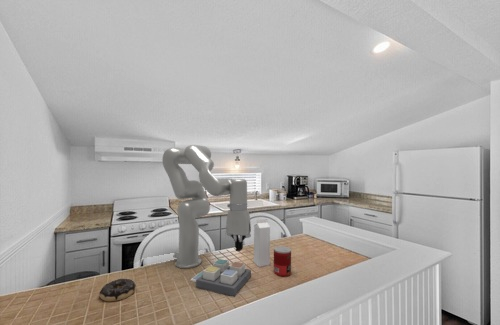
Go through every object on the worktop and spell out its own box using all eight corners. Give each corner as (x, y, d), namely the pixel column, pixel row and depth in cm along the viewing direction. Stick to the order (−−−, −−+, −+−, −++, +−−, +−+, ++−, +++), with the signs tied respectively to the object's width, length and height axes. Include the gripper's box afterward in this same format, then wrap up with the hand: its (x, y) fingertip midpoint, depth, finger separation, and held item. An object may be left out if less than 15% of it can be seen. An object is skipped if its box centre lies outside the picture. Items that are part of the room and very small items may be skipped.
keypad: (195, 287, 90) (196, 279, 91) (217, 270, 106) (217, 263, 106) (234, 296, 84) (234, 288, 84) (250, 276, 100) (250, 269, 100)
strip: (190, 281, 96) (190, 279, 96) (204, 270, 106) (204, 268, 106) (197, 282, 94) (197, 280, 94) (211, 271, 105) (211, 269, 105)
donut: (112, 286, 91) (112, 276, 91) (141, 287, 91) (141, 277, 91) (92, 302, 80) (93, 291, 80) (125, 303, 80) (125, 292, 80)
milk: (253, 262, 115) (253, 219, 116) (264, 260, 118) (264, 218, 119) (259, 267, 110) (259, 221, 111) (270, 265, 113) (270, 220, 113)
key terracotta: (229, 274, 96) (229, 265, 96) (234, 269, 101) (234, 261, 101) (240, 276, 94) (240, 267, 94) (245, 271, 99) (245, 263, 99)
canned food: (290, 277, 99) (291, 252, 100) (272, 276, 101) (272, 251, 101) (291, 270, 107) (291, 246, 107) (274, 268, 109) (274, 245, 109)
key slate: (220, 282, 89) (220, 273, 89) (226, 277, 93) (226, 268, 93) (232, 285, 87) (232, 276, 87) (237, 279, 92) (237, 270, 92)
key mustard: (203, 278, 92) (203, 270, 92) (209, 273, 96) (209, 265, 96) (213, 281, 90) (214, 272, 90) (220, 275, 94) (220, 267, 95)
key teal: (213, 270, 99) (213, 262, 99) (218, 266, 104) (219, 258, 104) (223, 272, 97) (223, 264, 97) (228, 268, 102) (228, 260, 102)
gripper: (219, 208, 98) (219, 251, 97) (251, 209, 92) (252, 255, 91) (227, 205, 105) (227, 245, 104) (257, 206, 99) (258, 249, 98)
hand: (239, 250), depth 97 cm, fingers closed
